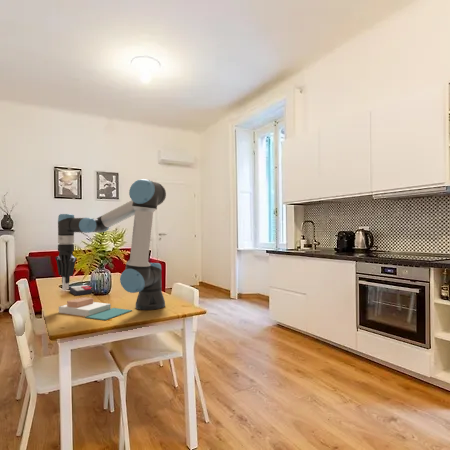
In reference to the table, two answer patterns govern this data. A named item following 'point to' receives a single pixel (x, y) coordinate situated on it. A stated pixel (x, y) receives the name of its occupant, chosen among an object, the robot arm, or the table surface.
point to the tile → (80, 302)
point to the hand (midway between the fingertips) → (65, 289)
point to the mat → (108, 314)
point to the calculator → (80, 290)
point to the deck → (85, 309)
